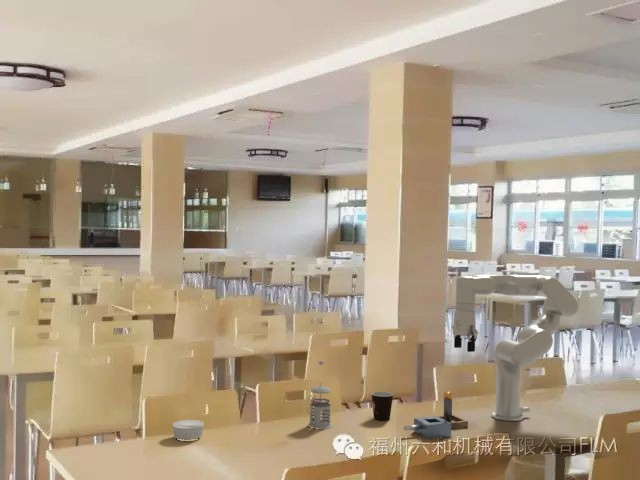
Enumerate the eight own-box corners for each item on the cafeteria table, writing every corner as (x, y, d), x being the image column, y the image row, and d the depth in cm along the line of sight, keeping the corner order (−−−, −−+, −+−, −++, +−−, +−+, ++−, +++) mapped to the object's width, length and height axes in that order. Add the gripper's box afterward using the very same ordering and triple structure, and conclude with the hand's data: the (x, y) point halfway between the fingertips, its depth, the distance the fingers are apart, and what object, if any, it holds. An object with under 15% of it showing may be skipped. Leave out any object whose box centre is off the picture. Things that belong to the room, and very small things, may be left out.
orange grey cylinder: (442, 422, 278) (442, 391, 278) (449, 421, 279) (449, 391, 279) (446, 424, 275) (446, 393, 275) (453, 423, 276) (453, 392, 276)
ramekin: (177, 444, 245) (177, 429, 245) (168, 436, 255) (168, 421, 255) (208, 440, 250) (208, 425, 250) (198, 432, 260) (198, 418, 260)
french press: (338, 426, 272) (339, 361, 272) (317, 431, 264) (318, 364, 264) (319, 421, 279) (320, 357, 279) (298, 426, 271) (299, 361, 270)
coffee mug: (391, 422, 279) (391, 397, 279) (369, 420, 281) (370, 395, 281) (394, 415, 290) (394, 390, 290) (373, 413, 292) (373, 389, 292)
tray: (454, 420, 284) (454, 414, 284) (467, 427, 274) (467, 421, 274) (427, 422, 279) (427, 417, 279) (440, 429, 270) (440, 423, 270)
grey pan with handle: (437, 429, 271) (437, 416, 270) (450, 436, 261) (451, 423, 261) (398, 432, 265) (398, 419, 265) (411, 440, 255) (411, 426, 255)
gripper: (445, 304, 291) (444, 346, 291) (469, 309, 275) (468, 353, 275) (461, 304, 294) (460, 345, 294) (485, 309, 278) (484, 352, 278)
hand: (464, 349), depth 285 cm, fingers open, 9 cm apart
